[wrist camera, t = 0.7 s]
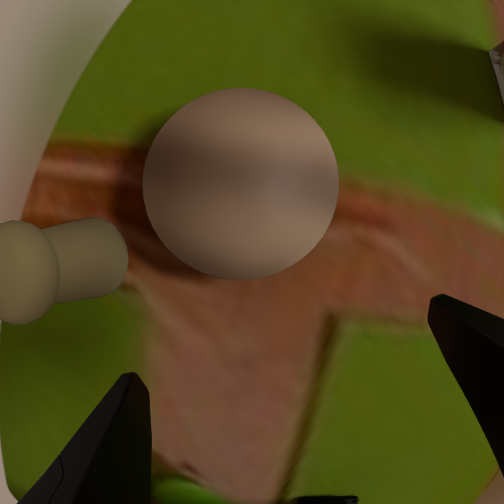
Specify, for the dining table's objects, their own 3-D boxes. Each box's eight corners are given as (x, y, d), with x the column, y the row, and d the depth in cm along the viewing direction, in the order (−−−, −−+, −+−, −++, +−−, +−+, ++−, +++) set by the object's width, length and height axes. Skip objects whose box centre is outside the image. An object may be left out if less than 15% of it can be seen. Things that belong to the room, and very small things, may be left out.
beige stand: (308, 287, 22) (317, 296, 19) (142, 254, 22) (126, 258, 19) (338, 125, 21) (350, 111, 18) (177, 95, 21) (168, 78, 18)
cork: (50, 263, 22) (-49, 283, 11) (87, 201, 21) (-14, 185, 10) (102, 312, 22) (14, 365, 11) (143, 250, 22) (59, 267, 11)
